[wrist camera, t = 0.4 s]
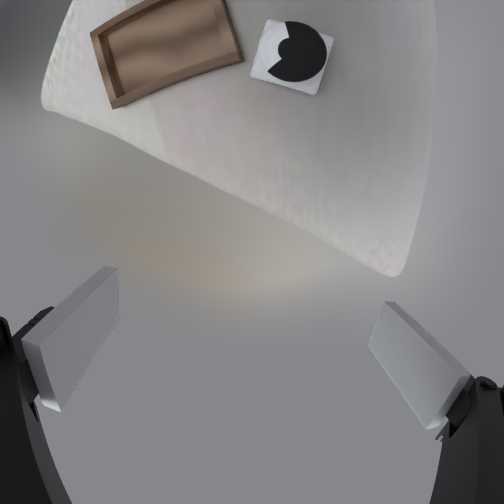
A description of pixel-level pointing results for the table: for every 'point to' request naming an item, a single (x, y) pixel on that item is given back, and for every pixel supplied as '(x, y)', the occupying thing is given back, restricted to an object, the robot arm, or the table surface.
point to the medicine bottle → (292, 55)
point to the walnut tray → (162, 46)
